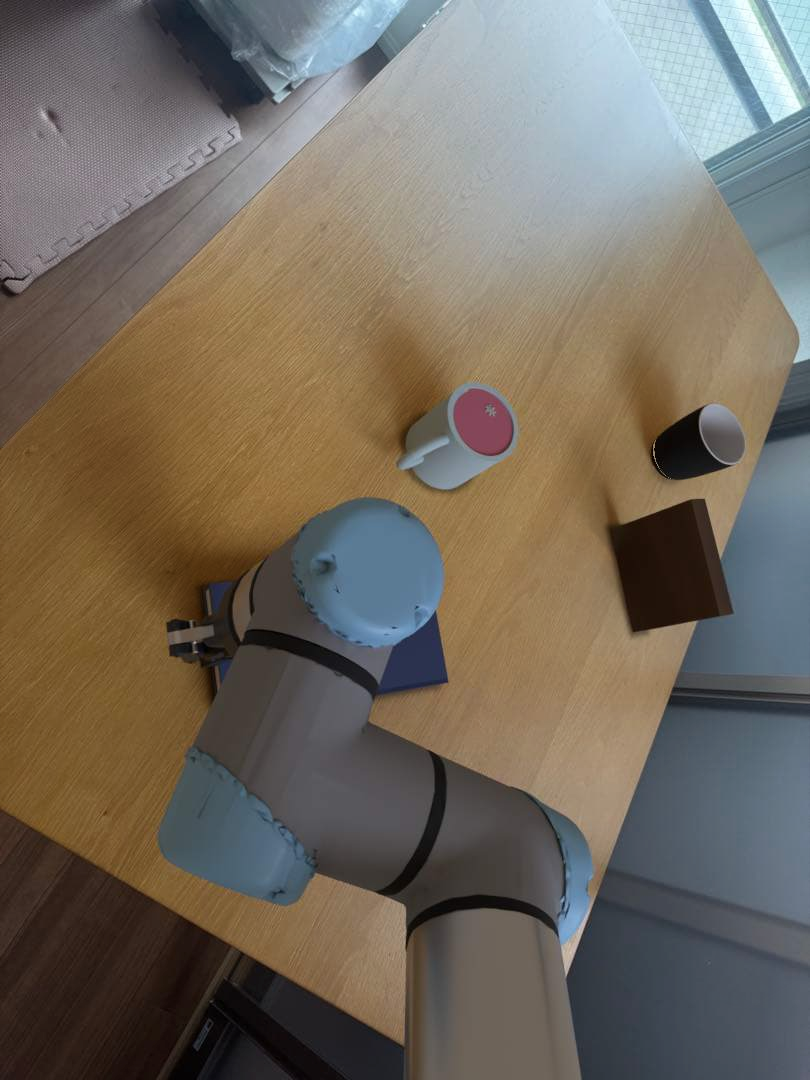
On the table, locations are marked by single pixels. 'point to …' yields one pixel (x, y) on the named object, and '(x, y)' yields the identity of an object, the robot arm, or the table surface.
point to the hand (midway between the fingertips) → (206, 652)
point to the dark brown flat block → (671, 567)
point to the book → (406, 666)
